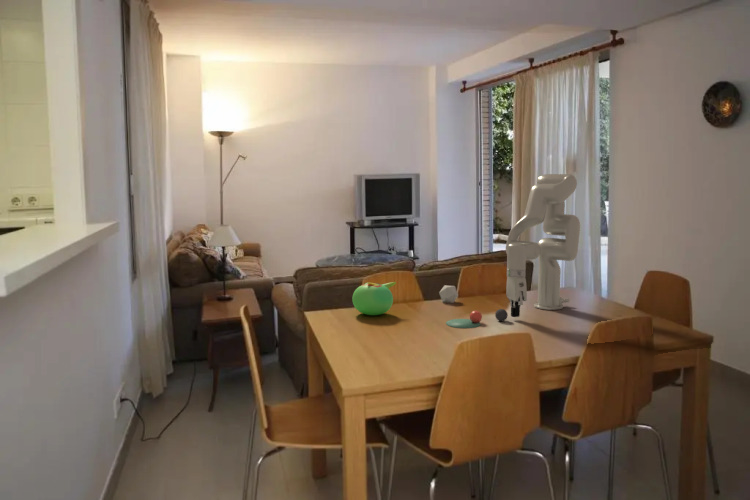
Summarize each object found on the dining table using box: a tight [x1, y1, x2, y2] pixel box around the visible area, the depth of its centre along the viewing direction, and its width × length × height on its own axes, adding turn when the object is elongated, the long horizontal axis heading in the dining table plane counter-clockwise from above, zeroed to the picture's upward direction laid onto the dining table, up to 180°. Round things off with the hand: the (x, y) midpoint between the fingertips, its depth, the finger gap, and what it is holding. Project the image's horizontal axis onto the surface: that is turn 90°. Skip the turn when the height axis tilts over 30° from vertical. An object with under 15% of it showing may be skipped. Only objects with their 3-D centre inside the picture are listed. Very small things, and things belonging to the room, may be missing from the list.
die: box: [438, 284, 459, 304], centre depth 271 cm, size 8×9×10 cm
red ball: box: [469, 310, 483, 323], centre depth 233 cm, size 5×5×5 cm
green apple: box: [351, 281, 397, 316], centre depth 248 cm, size 18×17×15 cm
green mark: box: [445, 318, 482, 329], centre depth 232 cm, size 14×14×1 cm
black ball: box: [494, 308, 509, 322], centre depth 235 cm, size 5×5×5 cm
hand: (515, 316), depth 237 cm, fingers closed
